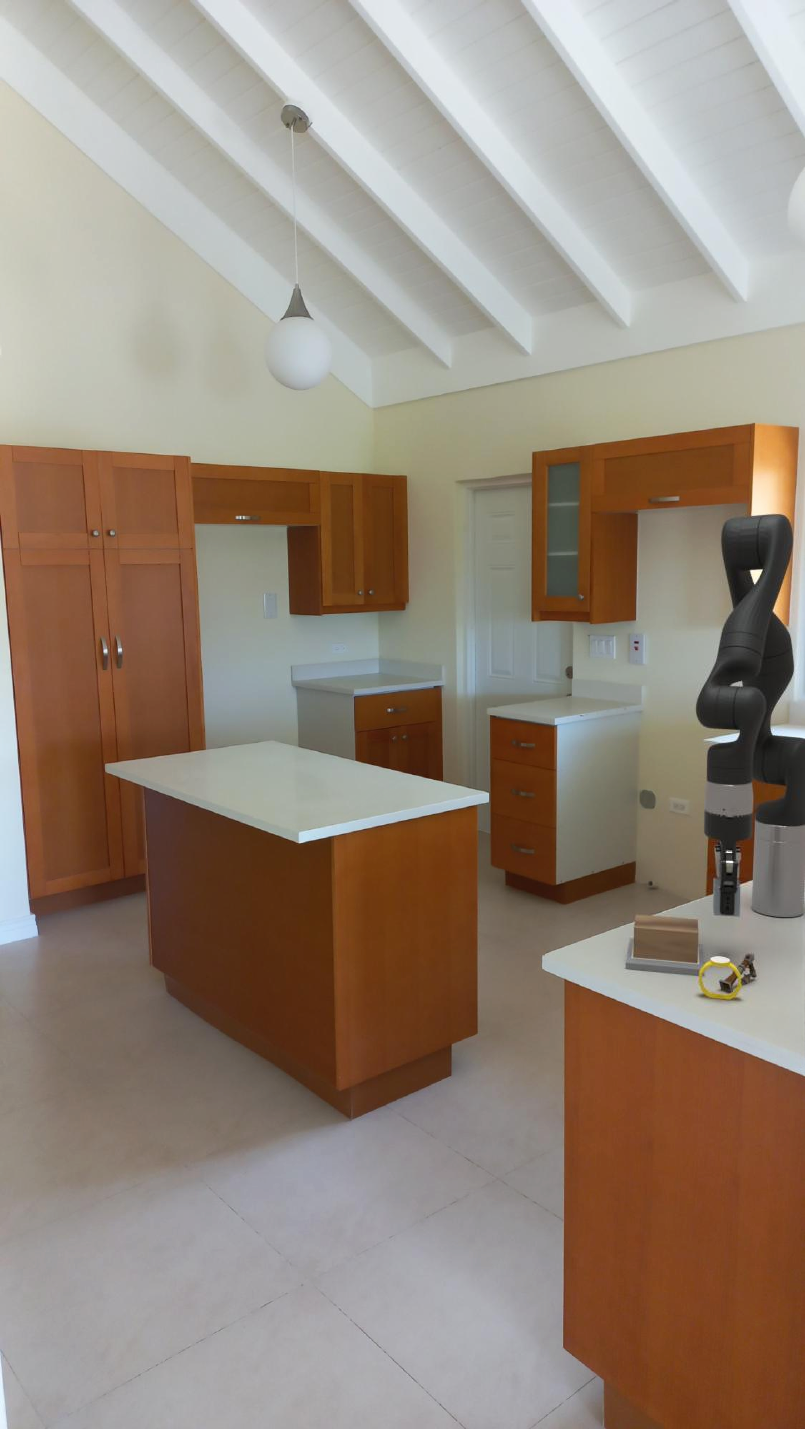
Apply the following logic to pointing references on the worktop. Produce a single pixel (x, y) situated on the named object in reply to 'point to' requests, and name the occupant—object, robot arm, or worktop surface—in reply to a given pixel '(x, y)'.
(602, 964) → the worktop surface
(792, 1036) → the worktop surface
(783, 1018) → the worktop surface
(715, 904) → the gray block
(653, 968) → the build pad
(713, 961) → the watch
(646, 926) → the walnut block
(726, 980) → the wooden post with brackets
